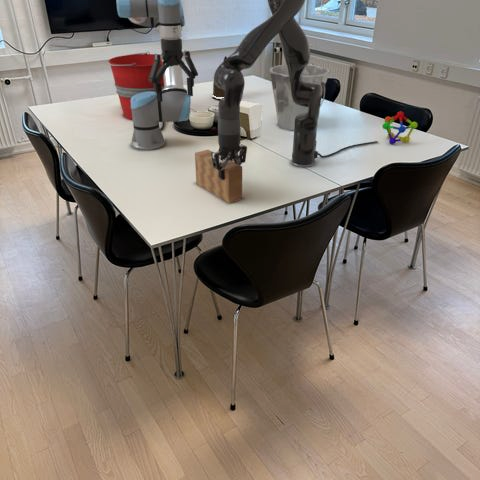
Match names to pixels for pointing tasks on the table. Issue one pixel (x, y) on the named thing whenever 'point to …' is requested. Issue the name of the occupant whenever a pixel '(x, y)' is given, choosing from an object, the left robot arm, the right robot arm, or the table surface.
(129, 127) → the table surface
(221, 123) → the right robot arm
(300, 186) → the table surface
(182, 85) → the left robot arm
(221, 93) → the bell
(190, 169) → the table surface
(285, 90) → the bucket
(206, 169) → the box
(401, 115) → the educational toy
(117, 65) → the bucket
